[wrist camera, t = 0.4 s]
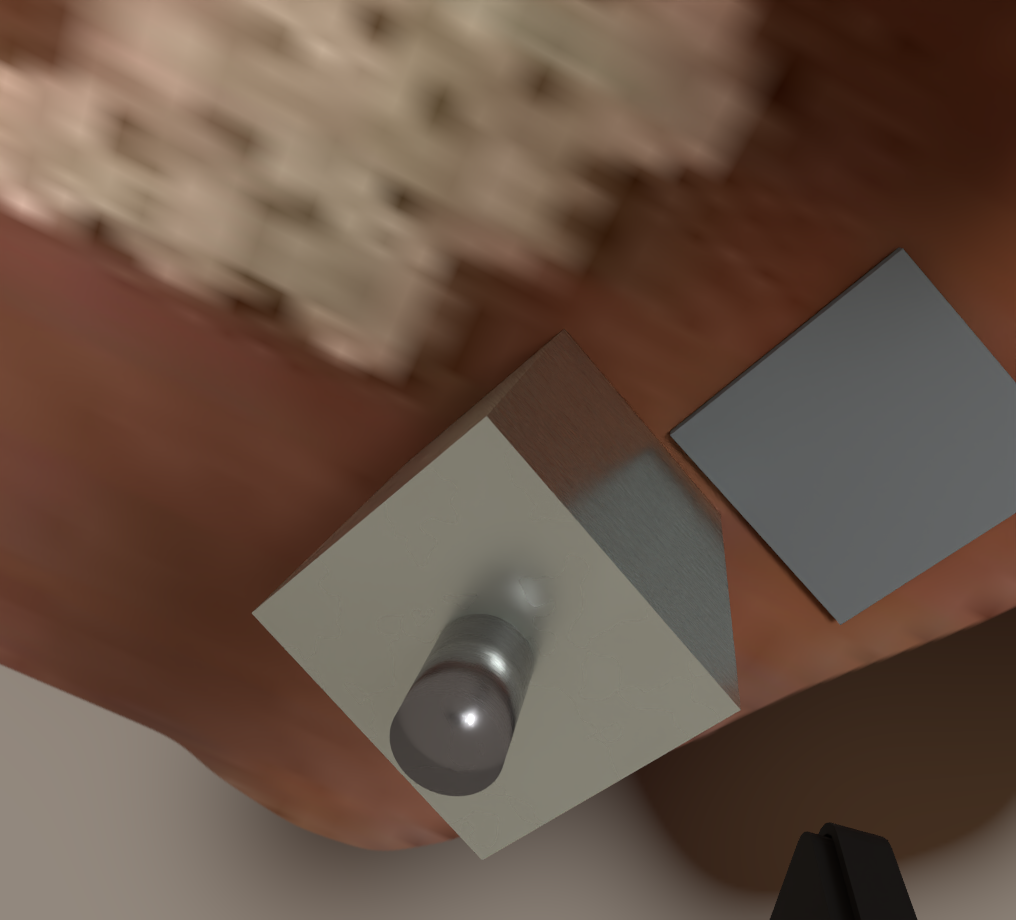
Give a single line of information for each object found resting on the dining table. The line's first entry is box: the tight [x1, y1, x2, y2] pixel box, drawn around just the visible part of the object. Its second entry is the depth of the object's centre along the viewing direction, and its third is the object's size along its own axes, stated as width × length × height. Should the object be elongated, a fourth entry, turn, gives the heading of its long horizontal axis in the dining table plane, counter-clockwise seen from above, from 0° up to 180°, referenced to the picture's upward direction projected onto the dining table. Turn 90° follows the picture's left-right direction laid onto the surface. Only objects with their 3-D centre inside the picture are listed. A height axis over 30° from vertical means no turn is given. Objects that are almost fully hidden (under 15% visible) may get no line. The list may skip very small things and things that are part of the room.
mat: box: [670, 248, 1016, 625], centre depth 42 cm, size 14×14×1 cm
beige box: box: [252, 329, 741, 860], centre depth 36 cm, size 12×13×23 cm
